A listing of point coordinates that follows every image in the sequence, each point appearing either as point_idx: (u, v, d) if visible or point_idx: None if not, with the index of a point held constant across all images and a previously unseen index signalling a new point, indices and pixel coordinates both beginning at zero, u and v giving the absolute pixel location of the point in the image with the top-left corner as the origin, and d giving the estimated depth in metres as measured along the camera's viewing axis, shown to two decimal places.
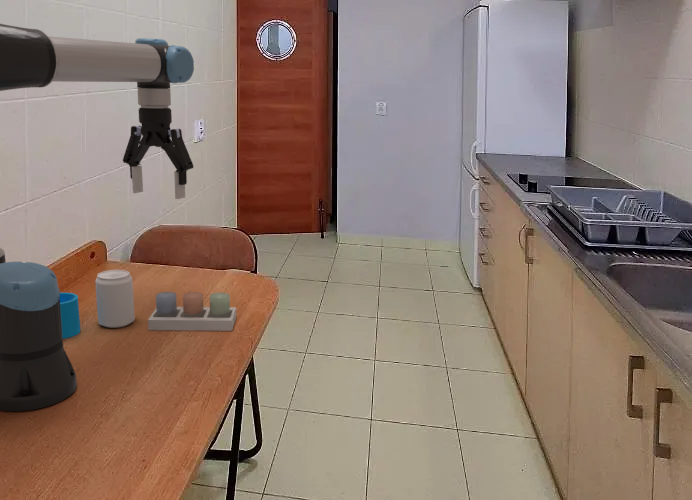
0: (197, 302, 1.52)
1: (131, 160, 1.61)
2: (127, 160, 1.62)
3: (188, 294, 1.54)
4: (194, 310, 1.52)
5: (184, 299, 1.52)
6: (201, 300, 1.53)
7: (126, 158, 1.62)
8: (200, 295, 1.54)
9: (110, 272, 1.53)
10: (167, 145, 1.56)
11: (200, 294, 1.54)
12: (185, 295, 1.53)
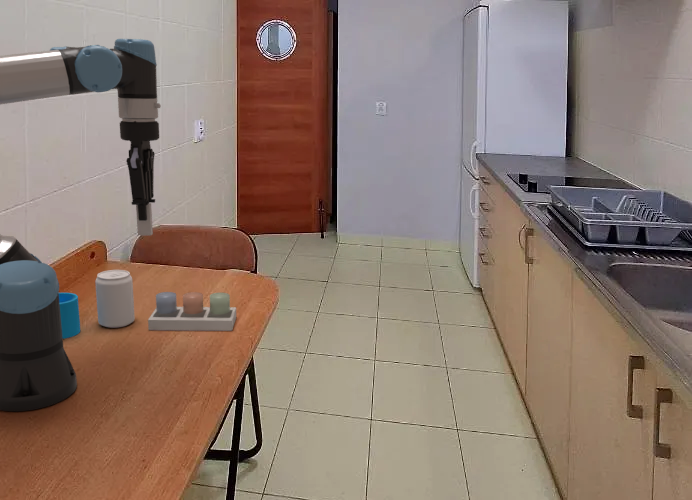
0: (197, 302, 1.52)
1: None
2: None
3: (188, 294, 1.54)
4: (194, 310, 1.52)
5: (184, 299, 1.52)
6: (201, 300, 1.53)
7: None
8: (200, 295, 1.54)
9: (110, 272, 1.53)
10: None
11: (200, 294, 1.54)
12: (185, 295, 1.53)
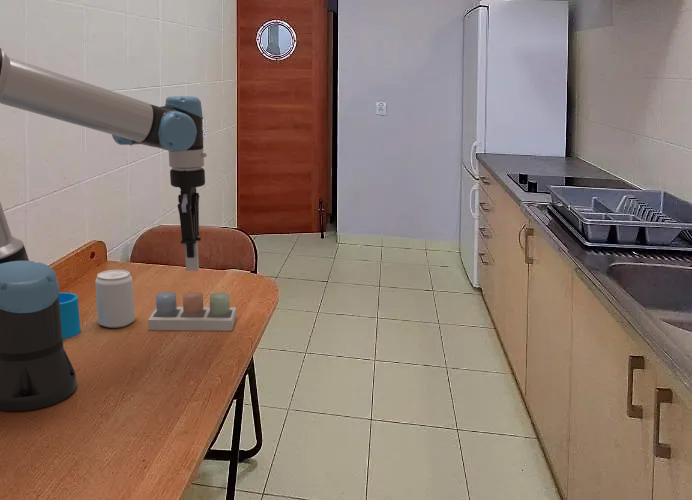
0: (197, 302, 1.52)
1: None
2: None
3: (188, 294, 1.54)
4: (194, 310, 1.52)
5: (184, 299, 1.52)
6: (201, 300, 1.53)
7: None
8: (200, 295, 1.54)
9: (110, 272, 1.53)
10: None
11: (200, 294, 1.54)
12: (185, 295, 1.53)
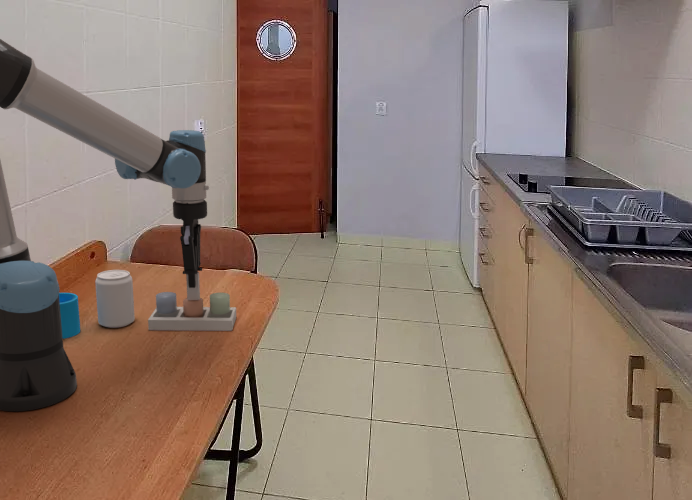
0: (197, 307, 1.52)
1: None
2: None
3: None
4: (194, 315, 1.53)
5: (184, 304, 1.52)
6: (201, 305, 1.53)
7: None
8: (200, 300, 1.54)
9: (110, 272, 1.53)
10: None
11: (200, 299, 1.55)
12: (185, 300, 1.54)
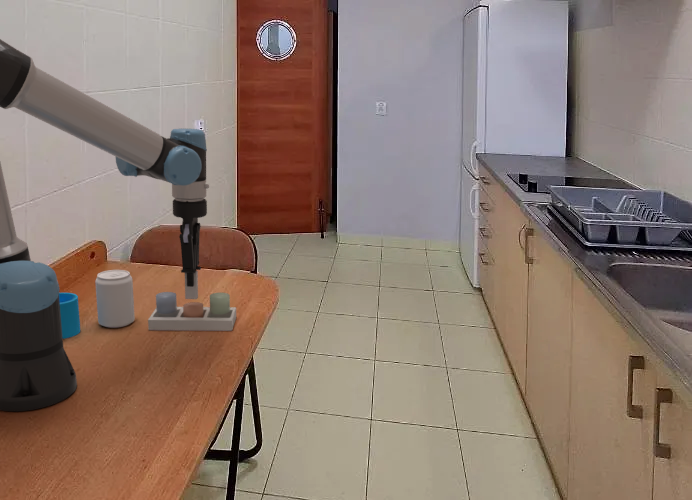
0: (197, 312, 1.53)
1: None
2: None
3: (188, 304, 1.55)
4: None
5: (184, 309, 1.53)
6: (201, 310, 1.54)
7: None
8: (200, 305, 1.54)
9: (110, 272, 1.53)
10: None
11: (200, 304, 1.55)
12: (185, 305, 1.54)
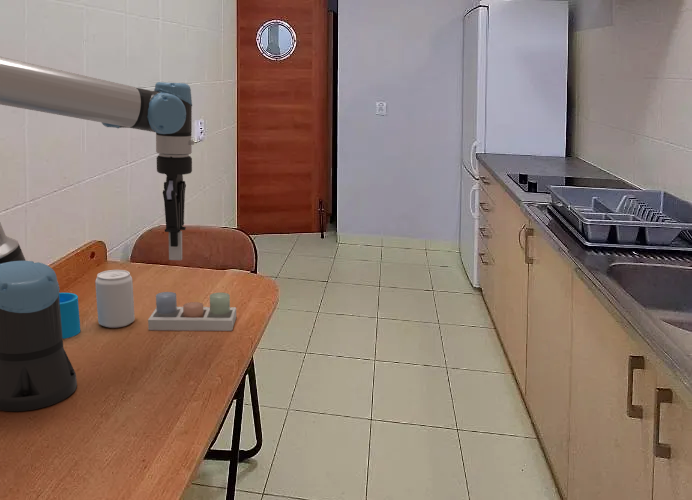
0: (197, 312, 1.53)
1: None
2: None
3: (188, 304, 1.55)
4: None
5: (184, 309, 1.53)
6: (201, 310, 1.54)
7: None
8: (200, 305, 1.54)
9: (110, 272, 1.53)
10: None
11: (200, 304, 1.55)
12: (185, 305, 1.54)
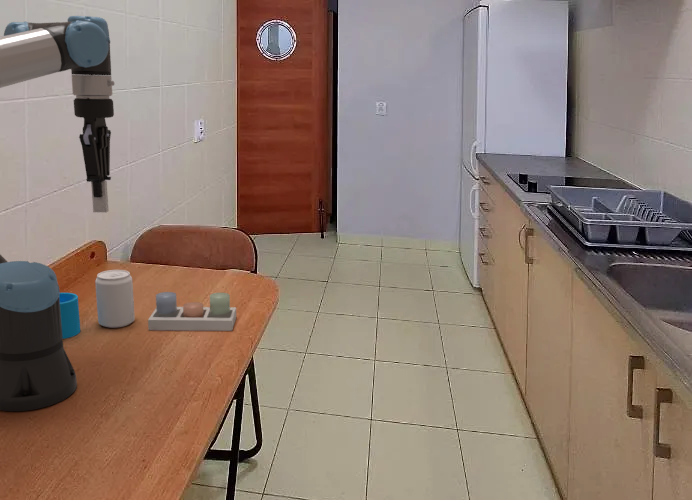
0: (197, 312, 1.53)
1: None
2: None
3: (188, 304, 1.55)
4: None
5: (184, 309, 1.53)
6: (201, 310, 1.54)
7: None
8: (200, 305, 1.54)
9: (110, 272, 1.53)
10: None
11: (200, 304, 1.55)
12: (185, 305, 1.54)
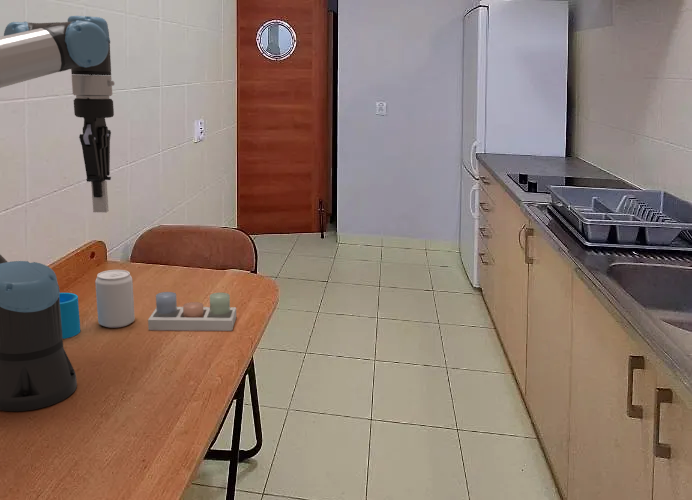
0: (197, 312, 1.53)
1: None
2: None
3: (188, 304, 1.55)
4: None
5: (184, 309, 1.53)
6: (201, 310, 1.54)
7: None
8: (200, 305, 1.54)
9: (110, 272, 1.53)
10: None
11: (200, 304, 1.55)
12: (185, 305, 1.54)
